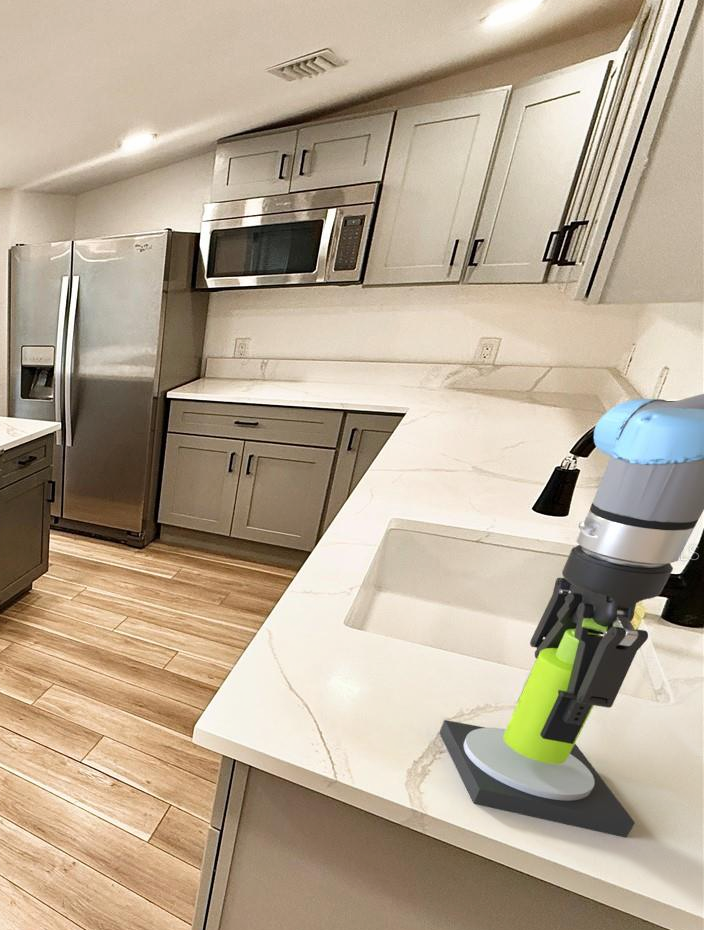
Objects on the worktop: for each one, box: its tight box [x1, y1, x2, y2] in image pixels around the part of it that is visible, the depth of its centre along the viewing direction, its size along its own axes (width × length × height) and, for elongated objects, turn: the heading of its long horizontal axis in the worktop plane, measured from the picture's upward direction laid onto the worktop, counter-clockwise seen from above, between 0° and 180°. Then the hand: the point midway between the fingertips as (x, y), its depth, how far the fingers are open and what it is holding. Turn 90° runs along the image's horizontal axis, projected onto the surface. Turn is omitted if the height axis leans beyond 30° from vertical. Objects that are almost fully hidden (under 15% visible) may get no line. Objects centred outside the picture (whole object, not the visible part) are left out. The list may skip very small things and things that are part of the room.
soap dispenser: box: [503, 617, 609, 764], centre depth 73 cm, size 6×7×20 cm
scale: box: [439, 719, 636, 838], centre depth 79 cm, size 14×14×3 cm
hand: (544, 721), depth 76 cm, fingers closed on soap dispenser, 6 cm apart
